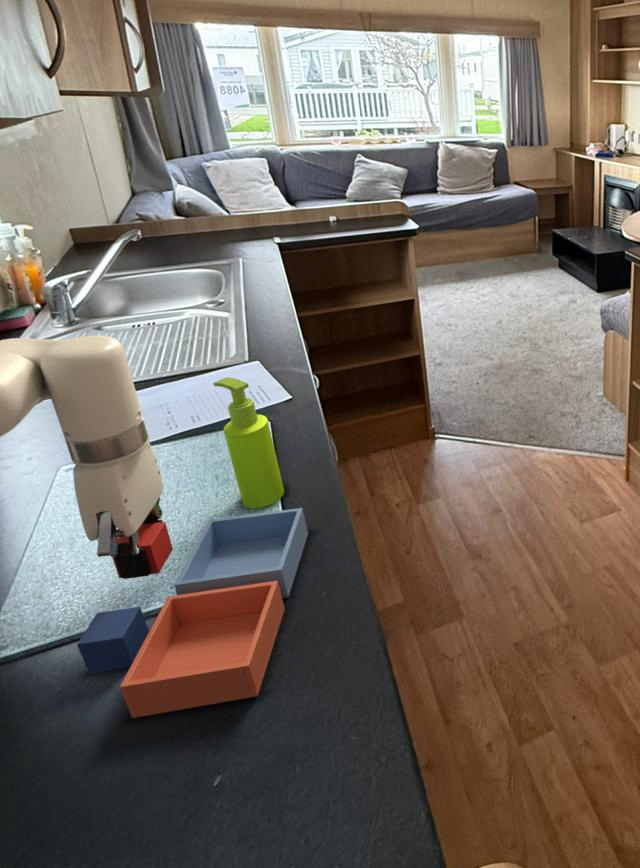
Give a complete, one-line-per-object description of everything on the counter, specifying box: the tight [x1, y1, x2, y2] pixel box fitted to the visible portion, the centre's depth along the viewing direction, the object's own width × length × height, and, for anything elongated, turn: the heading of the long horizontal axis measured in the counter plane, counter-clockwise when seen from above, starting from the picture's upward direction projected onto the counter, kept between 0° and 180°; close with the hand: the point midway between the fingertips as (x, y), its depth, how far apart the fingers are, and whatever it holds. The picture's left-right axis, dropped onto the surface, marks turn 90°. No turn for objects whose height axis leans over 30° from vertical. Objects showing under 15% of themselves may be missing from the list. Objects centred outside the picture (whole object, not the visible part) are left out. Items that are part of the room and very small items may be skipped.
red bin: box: [119, 581, 286, 719], centre depth 73 cm, size 12×12×5 cm
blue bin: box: [174, 507, 309, 599], centre depth 86 cm, size 12×12×5 cm
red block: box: [111, 521, 174, 579], centre depth 83 cm, size 4×4×4 cm
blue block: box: [76, 606, 150, 675], centre depth 74 cm, size 4×4×4 cm
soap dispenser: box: [212, 377, 285, 509], centre depth 98 cm, size 6×7×20 cm
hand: (145, 559), depth 83 cm, fingers closed on red block, 4 cm apart
